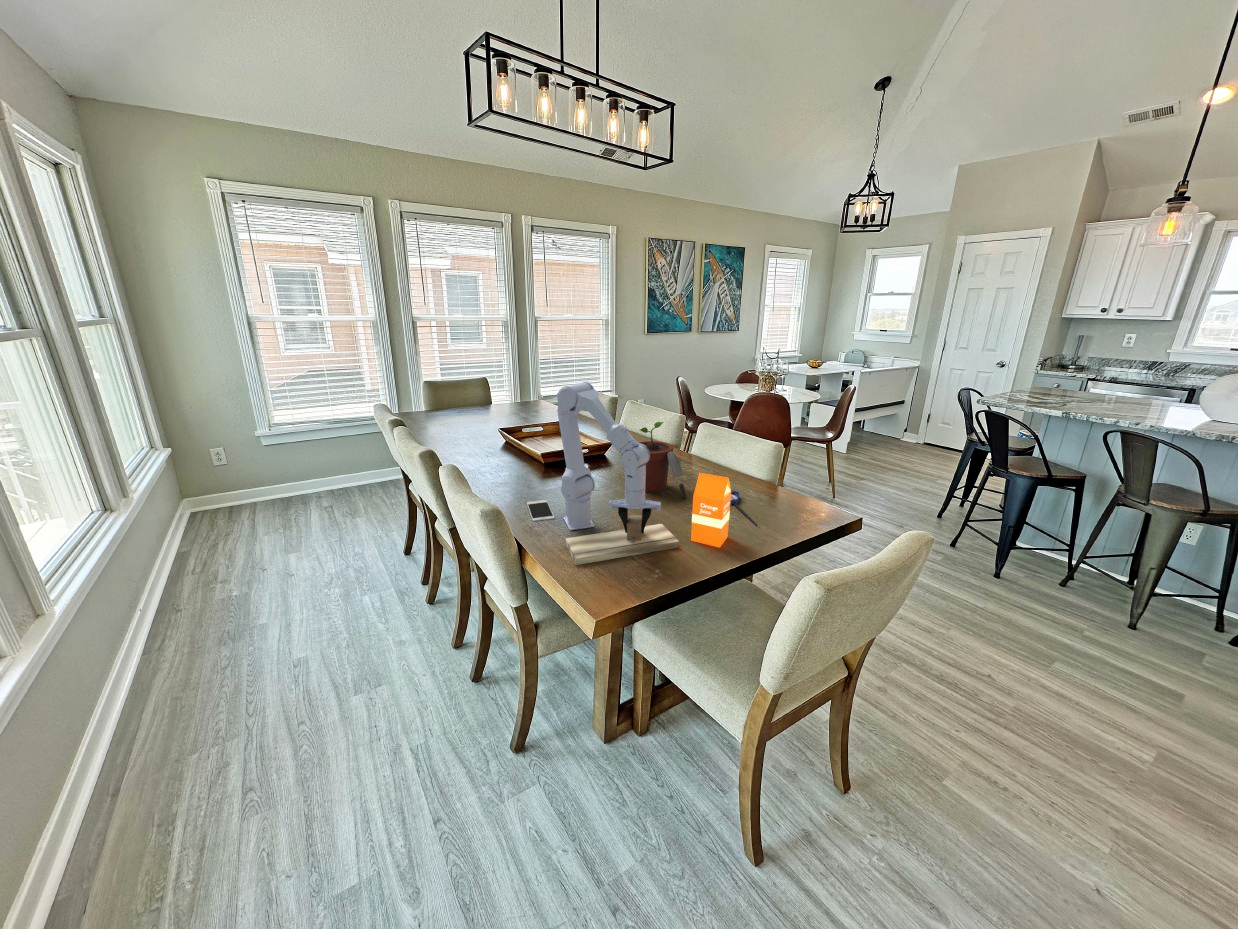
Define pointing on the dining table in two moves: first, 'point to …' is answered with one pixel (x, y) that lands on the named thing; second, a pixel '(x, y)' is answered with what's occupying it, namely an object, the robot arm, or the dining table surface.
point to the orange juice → (711, 510)
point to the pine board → (619, 544)
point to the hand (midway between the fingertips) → (634, 531)
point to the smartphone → (540, 510)
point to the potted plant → (661, 464)
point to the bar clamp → (734, 501)
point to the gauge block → (634, 527)
